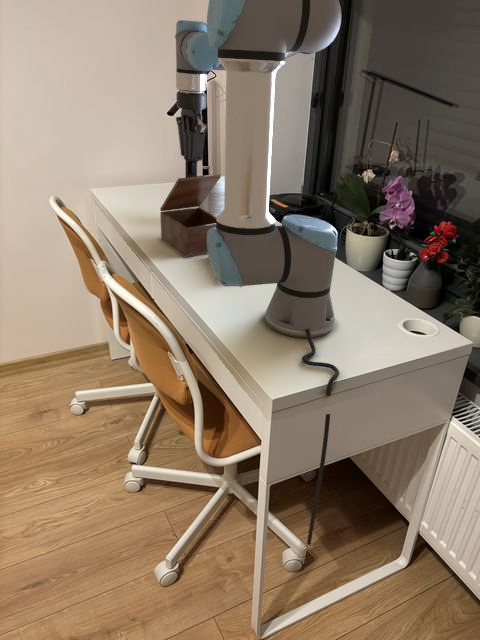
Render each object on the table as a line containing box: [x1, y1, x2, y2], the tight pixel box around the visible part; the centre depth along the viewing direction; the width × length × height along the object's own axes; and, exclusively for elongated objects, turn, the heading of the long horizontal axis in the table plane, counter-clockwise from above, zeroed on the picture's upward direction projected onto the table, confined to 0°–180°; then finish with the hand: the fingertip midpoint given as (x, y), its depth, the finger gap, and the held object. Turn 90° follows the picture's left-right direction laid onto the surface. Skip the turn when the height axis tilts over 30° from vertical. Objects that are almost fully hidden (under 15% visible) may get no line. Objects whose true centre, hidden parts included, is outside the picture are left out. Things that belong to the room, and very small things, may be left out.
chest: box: [160, 207, 217, 258], centre depth 158 cm, size 16×13×8 cm
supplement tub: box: [200, 174, 225, 217], centre depth 172 cm, size 10×10×15 cm
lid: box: [159, 174, 222, 212], centre depth 154 cm, size 16×13×1 cm
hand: (191, 185), depth 152 cm, fingers closed
